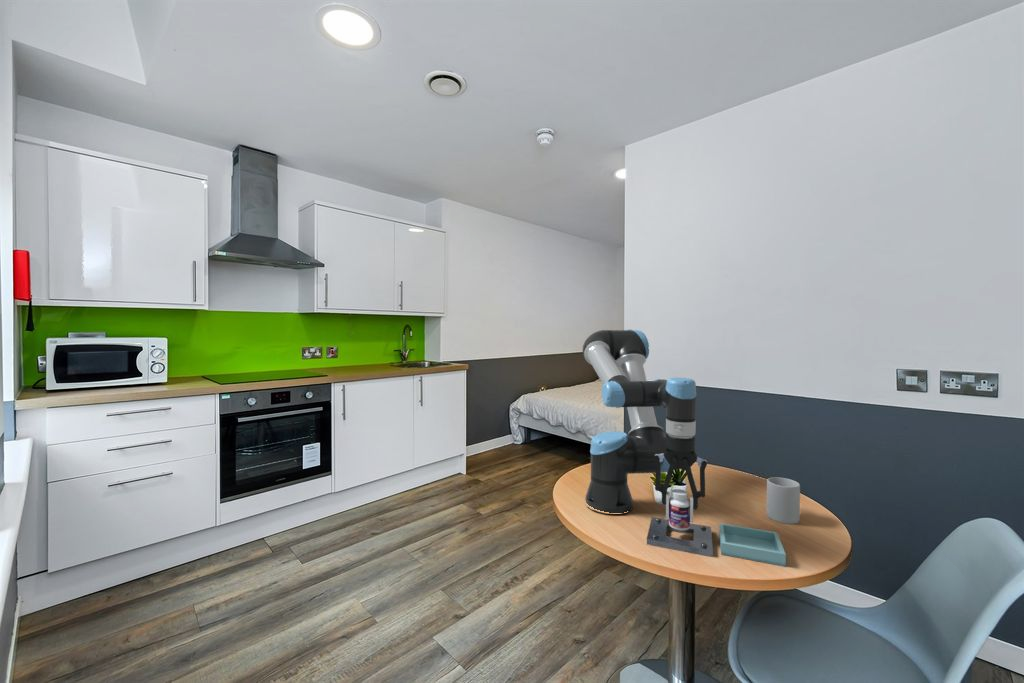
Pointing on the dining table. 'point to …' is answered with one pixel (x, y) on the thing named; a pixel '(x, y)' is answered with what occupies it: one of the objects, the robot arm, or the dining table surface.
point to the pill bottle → (679, 510)
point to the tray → (751, 544)
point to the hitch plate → (698, 546)
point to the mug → (783, 500)
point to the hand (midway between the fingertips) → (679, 518)
